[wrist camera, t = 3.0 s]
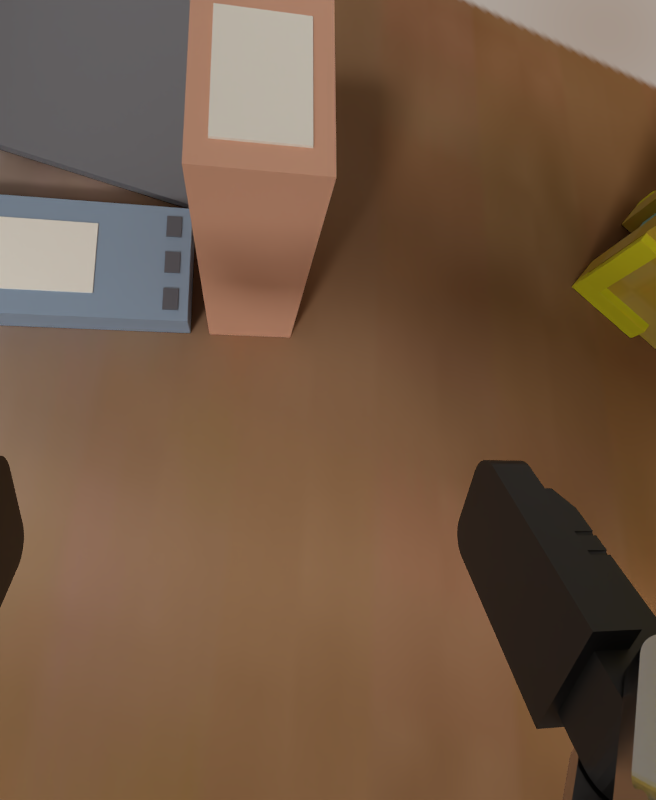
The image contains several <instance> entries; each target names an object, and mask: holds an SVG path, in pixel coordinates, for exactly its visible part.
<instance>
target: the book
mask: <svg viewBox="0 0 656 800" xmlns="http://www.w3.org/2000/svg"><path fill="white" fill-rule="evenodd" d="M622 225H623V226H624V227H625V228H626V229H627V230H628V231H629V232H631V234H629V235H628V236H627V237H625V238H624V239H622V240H621V241H620V242H618V243H617V244H615V245H614V246H613V247H611V248H610V249H608V250H607V251H606V252H604V253H603V254H601V255H600V256H599V257H597V258H596V259H595V260H593V261H592V262H591V263H590V264H589V266H588V267H587V268H586V269H585V271H584V272H583V273H582V274H581V276H580V277H579V278H578V279H577V281H576V282H575V283H574V284H573V286H572V288H574V289H575V290H576V291H577V292H578V293H579V294H580V295H582V296H583V297H584V298H585V299H586V300H587V301H588V302H590V303H591V304H592V305H593V306H594V307H595V308H596V309H598V310H599V311H600V312H601V313H602V314H603V315H604V316H606V317H607V318H608V319H609V320H610V321H611V322H612V323H614V324H615V325H616V326H617V327H618V328H619V329H620V330H622V331H623V332H624V333H625V334H626V335H627V336H628V337H630V338H633V337H635V336H637V335H640V336H641V337H642V338H643V339H644V340H646V341H647V342H648V343H649V344H650V345H651V346H652V347H654V348H655V349H656V190H655V191H652V192H651V193H650V194H649V195H647V196H646V197H645V198H644V199H642V200H641V201H640V202H639V203H638V204H637V206H636V207H635V208H634V210H633V211H632V212H631V213H630V215H629V216H628V217H627V218H626V220H625V221H624V222H623V223H622Z"/></svg>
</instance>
